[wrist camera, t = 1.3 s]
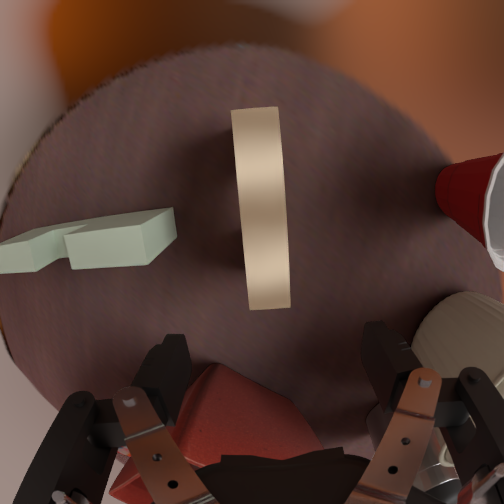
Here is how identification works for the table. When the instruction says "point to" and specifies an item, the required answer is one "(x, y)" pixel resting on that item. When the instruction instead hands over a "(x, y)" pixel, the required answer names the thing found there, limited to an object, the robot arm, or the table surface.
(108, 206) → the table surface
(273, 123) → the slotted plate
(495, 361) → the canister
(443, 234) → the table surface
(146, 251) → the notched board
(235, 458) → the robot arm
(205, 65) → the table surface
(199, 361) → the table surface
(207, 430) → the plant pot
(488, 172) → the plastic cup
